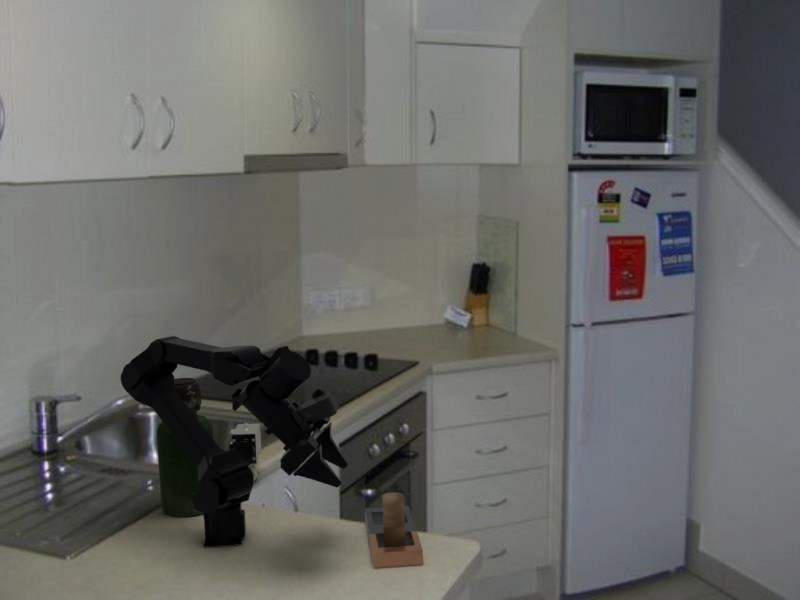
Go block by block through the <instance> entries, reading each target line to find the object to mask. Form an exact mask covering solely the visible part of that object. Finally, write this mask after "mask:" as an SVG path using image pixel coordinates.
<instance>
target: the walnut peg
mask: <svg viewBox="0 0 800 600" xmlns="http://www.w3.org/2000/svg"><path fill="white" fill-rule="evenodd" d="M381 497H382V499H381V500H382V507H383V533H384V547H383V548H385V547H399V546H406V544H405V509H404V506H405V494H404V493H401V492H393V491H392V492H387V493H384V494H383V495H381Z"/></svg>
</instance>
